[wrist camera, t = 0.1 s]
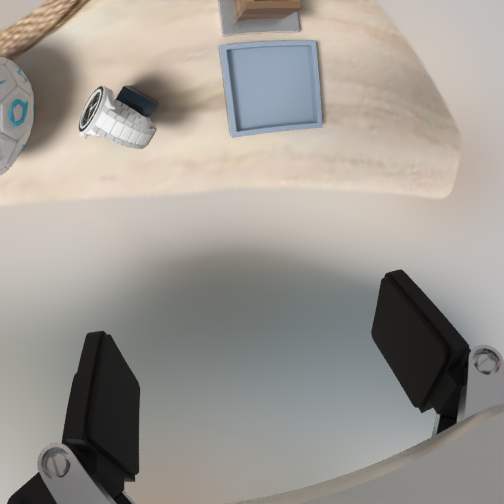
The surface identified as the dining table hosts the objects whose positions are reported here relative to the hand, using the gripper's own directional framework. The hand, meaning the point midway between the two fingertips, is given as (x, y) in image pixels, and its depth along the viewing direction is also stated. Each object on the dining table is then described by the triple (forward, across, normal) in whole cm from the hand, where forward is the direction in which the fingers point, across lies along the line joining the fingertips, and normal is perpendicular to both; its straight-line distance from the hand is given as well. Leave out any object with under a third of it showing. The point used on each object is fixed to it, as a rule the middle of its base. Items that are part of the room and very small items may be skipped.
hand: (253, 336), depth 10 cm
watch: (+31, +8, -6) cm, 33 cm away
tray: (+31, -9, -6) cm, 33 cm away
